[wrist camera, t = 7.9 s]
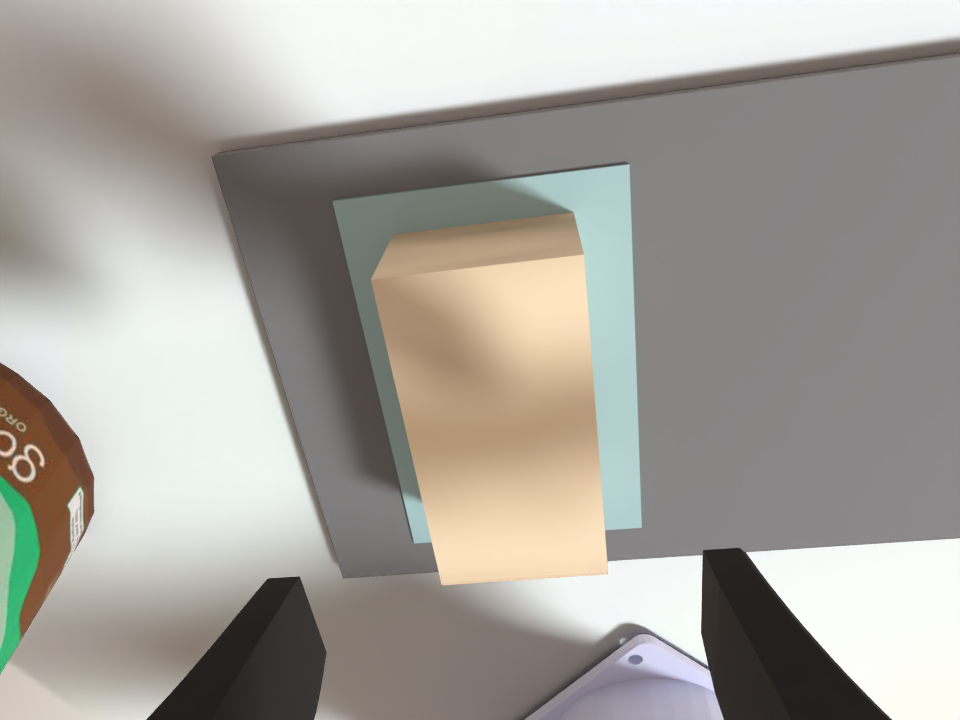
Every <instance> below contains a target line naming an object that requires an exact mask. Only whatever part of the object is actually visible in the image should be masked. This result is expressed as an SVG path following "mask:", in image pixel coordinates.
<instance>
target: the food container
mask: <svg viewBox="0 0 960 720" xmlns="http://www.w3.org/2000/svg"><path fill="white" fill-rule="evenodd" d="M93 513H94V476H93V473H92V471H91V468H90V465H89V463H88V460H87V458H86V455H85V452H84V450H83V447H82V445H81V442H80V439H79V438H78V436H77V435H76V434H75V432H74V431H73V430H72V429H71V427H70V426H69V425H68V423H67V422H66V421H65V419H64V418H63V417H62V416H61V414H60V413H59V412H58V410H57V409H56V408H55V406H54V405H53V404H52V403H51V401H50V400H49V399H48V398H46V397H45V396H44V395H43V394H42V393H40V392H39V391H38V390H37V389H36V388H34V387H33V386H32V385H31V384H30V383H28V382H27V381H26V380H25V379H23V378H22V377H21V376H20V375H19V374H17V373H16V372H14V371H13V370H11V369H9V368H8V367H6V366H5V365H3V364H1V363H0V674H1V672H2V670H3V669H4V667H5V666H6V664H7V662H8V661H9V659H10V657H11V656H12V654H13V652H14V651H15V649H16V647H17V646H18V644H19V642H20V641H21V639H22V637H23V636H24V634H25V632H26V631H27V629H28V627H29V626H30V624H31V622H32V621H33V619H34V617H35V616H36V614H37V612H38V611H39V609H40V607H41V606H42V604H43V602H44V601H45V599H46V597H47V596H48V594H49V592H50V591H51V589H52V587H53V586H54V584H55V582H56V581H57V579H58V577H59V576H60V574H61V572H62V571H63V569H64V567H65V566H66V564H67V562H68V561H69V559H70V557H71V556H72V554H73V552H74V551H75V549H76V547H77V546H78V544H79V542H80V541H81V539H82V537H83V536H84V534H85V532H86V529H87V527H88V525H89V522H90V520H91V518H92V516H93Z"/></svg>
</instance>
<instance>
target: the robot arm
mask: <svg viewBox="0 0 960 720" xmlns="http://www.w3.org/2000/svg"><path fill="white" fill-rule="evenodd" d="M701 634H702V638H703V643H704V647H705V652H706V657H707V661H708V666H709V670H710V671H709V670H708V669H706V668H704V667H703V666H701V665H699V664H698V663H696V662H694V661H693V660H691V659H690V658H688V657H686V656H685V655H683V654H681V653H680V652H678V651H677V650H675V649H673V648H672V647H670V646H668V645H667V644H665V643H663V642H662V641H660V640H659V639H657V638H655V637H654V636H651V635H648V634H641V635H637V636H635V637H634V638H632V639H631V640H630V641H628V642H627V643H626V644H624V645H623V646H622V647H620V648H619V649H618V650H616V651H615V652H614V653H612V654H611V655H610V656H608V657H607V658H606V659H604V660H603V661H602V662H600V663H599V664H598V665H596V666H595V667H594V668H592V669H591V670H590V671H588V672H587V673H586V674H584V675H583V676H582V677H580V678H579V679H578V680H576V681H575V682H574V683H572V684H571V685H570V686H568V687H567V688H566V689H565V690H563V691H562V692H561V693H559V694H558V695H557V696H555V697H554V698H553V699H551V700H550V701H549V702H547V703H546V704H545V705H543V706H542V707H541V708H539V709H538V710H537V711H535V712H534V713H533V714H531V715H530V716H529V717H527V718H526V719H525V720H892V719H891V718H889V717H888V716H887V715H886V714H885V713H884V712H883V711H882V710H881V709H880V708H879V707H878V706H877V705H876V704H875V703H874V702H873V701H872V700H871V699H870V698H869V697H868V696H867V695H866V694H865V693H864V692H863V690H862V689H861V688H860V687H859V686H858V685H857V684H856V683H855V682H854V681H853V680H852V679H851V678H850V677H849V676H848V675H847V674H846V673H845V672H844V671H843V670H842V669H841V668H840V666H839V665H838V664H837V663H836V662H835V661H834V660H833V659H832V658H831V657H830V656H829V654H828V653H827V652H826V651H825V650H824V649H823V648H822V647H821V645H820V644H819V643H818V642H817V641H816V640H815V639H814V638H813V636H812V635H811V634H810V633H809V632H808V631H807V630H806V628H805V627H804V626H803V625H802V624H801V623H800V621H799V620H798V619H797V618H796V617H795V616H794V614H793V613H792V612H791V611H790V610H789V608H788V607H787V606H786V605H785V603H784V602H783V601H782V600H781V598H780V597H779V596H778V595H777V593H776V592H775V591H774V590H773V588H772V587H771V586H770V585H769V583H768V582H767V581H766V579H765V578H764V577H763V575H762V574H761V573H760V571H759V570H758V569H757V567H756V566H755V565H754V563H753V562H752V561H751V559H750V558H749V556H748V555H747V554H746V552H744V551H743V550H742V549H741V548H727V549H711V550H703V570H702V620H701ZM325 659H326V650H325V647H324V644H323V642H322V639H321V636H320V633H319V630H318V627H317V624H316V622H315V619H314V616H313V613H312V610H311V607H310V605H309V602H308V599H307V596H306V593H305V590H304V588H303V585H302V582H301V579H300V577H286V578H270V579H267V580H266V582H265V583H264V584H263V585H262V586H261V587H260V589H259V590H258V591H257V592H256V593H255V594H254V596H253V597H252V598H251V599H250V600H249V602H248V603H247V604H246V605H245V606H244V608H243V609H242V610H241V611H240V612H239V614H238V615H237V616H236V617H235V619H234V620H233V621H232V622H231V623H230V625H229V626H228V627H227V628H226V629H225V631H224V632H223V633H222V634H221V636H220V637H219V638H218V639H217V640H216V642H215V643H214V644H213V645H212V646H211V648H210V649H209V650H208V651H207V652H206V653H205V655H204V656H203V657H202V658H201V659H200V660H199V662H198V663H197V664H196V665H195V666H194V667H193V669H192V670H191V671H190V672H189V673H188V674H187V676H186V677H185V678H184V679H183V680H182V681H181V682H180V684H179V685H178V686H177V687H176V688H175V689H174V690H173V691H172V692H171V694H170V695H169V696H168V697H167V698H166V699H165V700H164V701H163V702H162V703H161V704H160V705H159V707H158V708H157V709H156V710H155V711H154V712H153V713H152V714H151V715H150V716H149V717H148V718H147V720H314V717H315V714H316V710H317V705H318V700H319V694H320V689H321V684H322V677H323V671H324V665H325Z"/></svg>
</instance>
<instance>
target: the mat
mask: <svg viewBox="0 0 960 720" xmlns="http://www.w3.org/2000/svg"><path fill="white" fill-rule="evenodd" d="M212 160H213V163H214V166H215V170H216V173H217V176H218V179H219V182H220V186H221V189H222V192H223V195H224V198H225V201H226V205H227V208H228V211H229V214H230V217H231V221H232V224H233V227H234V230H235V233H236V237H237V240H238V243H239V246H240V249H241V253H242V256H243V259H244V262H245V265H246V269H247V272H248V275H249V278H250V281H251V285H252V288H253V291H254V294H255V297H256V301H257V304H258V307H259V310H260V313H261V317H262V320H263V323H264V326H265V329H266V333H267V336H268V339H269V342H270V345H271V349H272V352H273V355H274V358H275V361H276V365H277V368H278V371H279V374H280V377H281V381H282V384H283V387H284V390H285V393H286V397H287V400H288V403H289V406H290V409H291V413H292V416H293V419H294V422H295V425H296V429H297V432H298V435H299V438H300V441H301V445H302V448H303V451H304V454H305V457H306V461H307V464H308V467H309V470H310V473H311V477H312V480H313V483H314V486H315V489H316V493H317V496H318V499H319V502H320V505H321V508H322V512H323V515H324V518H325V521H326V524H327V528H328V531H329V534H330V537H331V540H332V544H333V547H334V550H335V553H336V556H337V560H338V563H339V566H340V569H341V572H342V576H343V578H354V577H369V576H385V575H400V574H416V573H431V572H439V571H438V567H437V563H436V558H435V554H434V550H433V545H432V541H431V537H430V532H429V528H428V524H427V520H426V515H425V511H424V507H423V502H422V498H421V494H420V489H419V485H418V481H417V476H416V472H415V468H414V463H413V459H412V455H411V451H410V446H409V442H408V438H407V433H406V429H405V425H404V420H403V416H402V412H401V407H400V403H399V399H398V395H397V390H396V386H395V382H394V377H393V373H392V369H391V364H390V360H389V356H388V351H387V347H386V343H385V339H384V334H383V330H382V326H381V321H380V317H379V313H378V308H377V304H376V300H375V295H374V291H373V287H372V283H371V278H372V276H373V274H374V272H375V270H376V268H377V266H378V264H379V262H380V260H381V258H382V256H383V254H384V252H385V250H386V248H387V246H388V244H389V242H390V240H391V238H392V236H393V235H394V234H402V233H410V232H418V231H426V230H434V229H442V228H450V227H458V226H466V225H474V224H482V223H490V222H498V221H506V220H514V219H522V218H530V217H538V216H546V215H554V214H562V213H570V212H574V216H575V220H576V224H577V228H578V232H579V236H580V240H581V244H582V248H583V252H584V261H585V274H586V288H587V301H588V314H589V327H590V340H591V354H592V367H593V380H594V393H595V406H596V420H597V433H598V446H599V459H600V472H601V486H602V499H603V512H604V525H605V538H606V552H607V561H616V560H631V559H646V558H662V557H677V556H693V555H703V550H711V549H727V548H741V549H742V550H743V551H744V552H754V551H770V550H785V549H800V548H816V547H831V546H847V545H862V544H877V543H893V542H908V541H924V540H939V539H954V538H960V53H954V54H947V55H940V56H932V57H925V58H917V59H910V60H902V61H895V62H888V63H880V64H873V65H865V66H858V67H850V68H843V69H836V70H828V71H821V72H813V73H806V74H798V75H791V76H783V77H776V78H769V79H761V80H754V81H746V82H739V83H731V84H724V85H717V86H709V87H702V88H694V89H687V90H679V91H672V92H665V93H657V94H650V95H642V96H635V97H627V98H620V99H613V100H605V101H598V102H590V103H583V104H575V105H568V106H561V107H553V108H546V109H538V110H531V111H523V112H516V113H509V114H501V115H494V116H486V117H479V118H471V119H464V120H456V121H449V122H442V123H434V124H427V125H419V126H412V127H404V128H397V129H390V130H382V131H375V132H367V133H360V134H352V135H345V136H338V137H330V138H323V139H315V140H308V141H300V142H293V143H286V144H278V145H271V146H263V147H256V148H248V149H241V150H234V151H226V152H219V153H217V154H216V155H214V156H212Z"/></svg>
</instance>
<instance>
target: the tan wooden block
mask: <svg viewBox="0 0 960 720" xmlns="http://www.w3.org/2000/svg"><path fill="white" fill-rule="evenodd" d="M371 283H372V287H373V291H374V295H375V300H376V304H377V308H378V313H379V317H380V321H381V326H382V330H383V334H384V339H385V343H386V347H387V351H388V356H389V360H390V364H391V369H392V373H393V377H394V382H395V386H396V390H397V395H398V399H399V403H400V407H401V412H402V416H403V420H404V425H405V429H406V433H407V438H408V442H409V446H410V451H411V455H412V459H413V463H414V468H415V472H416V476H417V481H418V485H419V489H420V494H421V498H422V502H423V507H424V511H425V515H426V520H427V524H428V528H429V532H430V537H431V541H432V545H433V550H434V554H435V558H436V563H437V567H438V571H439V576H440V580H441V584H442V585H456V584H470V583H485V582H500V581H514V580H529V579H544V578H559V577H573V576H588V575H603V574H608V565H607V552H606V538H605V525H604V512H603V499H602V486H601V472H600V459H599V446H598V433H597V420H596V406H595V393H594V380H593V367H592V354H591V340H590V327H589V314H588V301H587V288H586V274H585V261H584V252H583V248H582V244H581V240H580V236H579V232H578V228H577V224H576V220H575V216H574V212H570V213H562V214H554V215H546V216H538V217H530V218H522V219H514V220H506V221H498V222H490V223H482V224H474V225H466V226H458V227H450V228H442V229H434V230H426V231H418V232H410V233H402V234H394V235H393V236H392V238H391V240H390V242H389V244H388V246H387V248H386V250H385V252H384V254H383V256H382V258H381V260H380V262H379V264H378V266H377V268H376V270H375V272H374V274H373V276H372V278H371Z"/></svg>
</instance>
